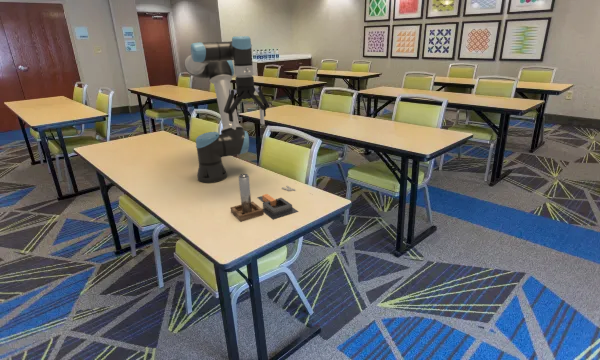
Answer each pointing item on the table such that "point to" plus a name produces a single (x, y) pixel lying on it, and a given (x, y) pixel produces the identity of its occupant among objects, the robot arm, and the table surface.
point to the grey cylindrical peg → (245, 193)
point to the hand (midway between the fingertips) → (248, 126)
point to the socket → (277, 208)
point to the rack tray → (242, 217)
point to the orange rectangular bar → (269, 199)
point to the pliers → (289, 189)
